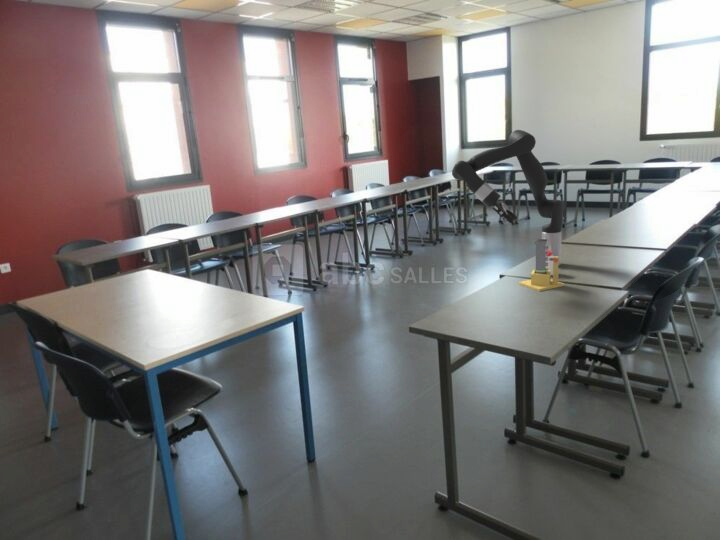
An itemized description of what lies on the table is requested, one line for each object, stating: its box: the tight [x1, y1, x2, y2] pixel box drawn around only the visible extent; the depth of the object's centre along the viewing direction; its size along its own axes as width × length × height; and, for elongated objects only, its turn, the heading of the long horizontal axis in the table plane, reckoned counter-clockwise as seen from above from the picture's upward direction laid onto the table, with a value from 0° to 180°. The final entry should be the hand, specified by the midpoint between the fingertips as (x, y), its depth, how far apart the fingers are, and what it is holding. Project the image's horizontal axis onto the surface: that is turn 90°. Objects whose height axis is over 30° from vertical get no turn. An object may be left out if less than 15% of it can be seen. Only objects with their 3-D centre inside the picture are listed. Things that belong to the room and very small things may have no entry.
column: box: [534, 238, 548, 274], centre depth 237 cm, size 6×5×19 cm
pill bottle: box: [546, 251, 554, 276], centre depth 255 cm, size 8×8×11 cm
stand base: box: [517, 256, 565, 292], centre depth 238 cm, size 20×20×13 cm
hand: (513, 220), depth 237 cm, fingers open, 8 cm apart
